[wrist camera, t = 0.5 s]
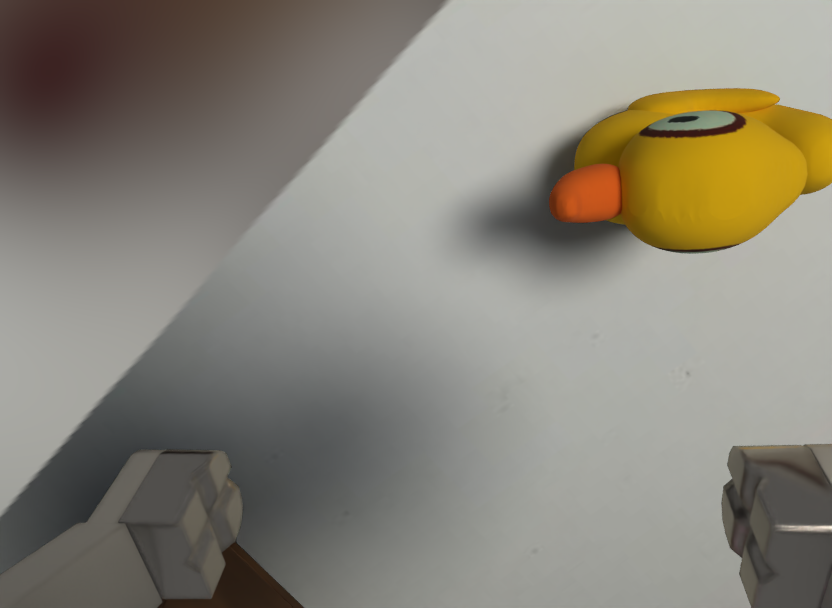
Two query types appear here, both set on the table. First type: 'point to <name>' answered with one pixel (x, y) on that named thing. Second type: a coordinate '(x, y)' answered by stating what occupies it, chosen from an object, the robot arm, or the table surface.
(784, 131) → the duckling
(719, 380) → the table surface
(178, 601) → the holder
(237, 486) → the robot arm
